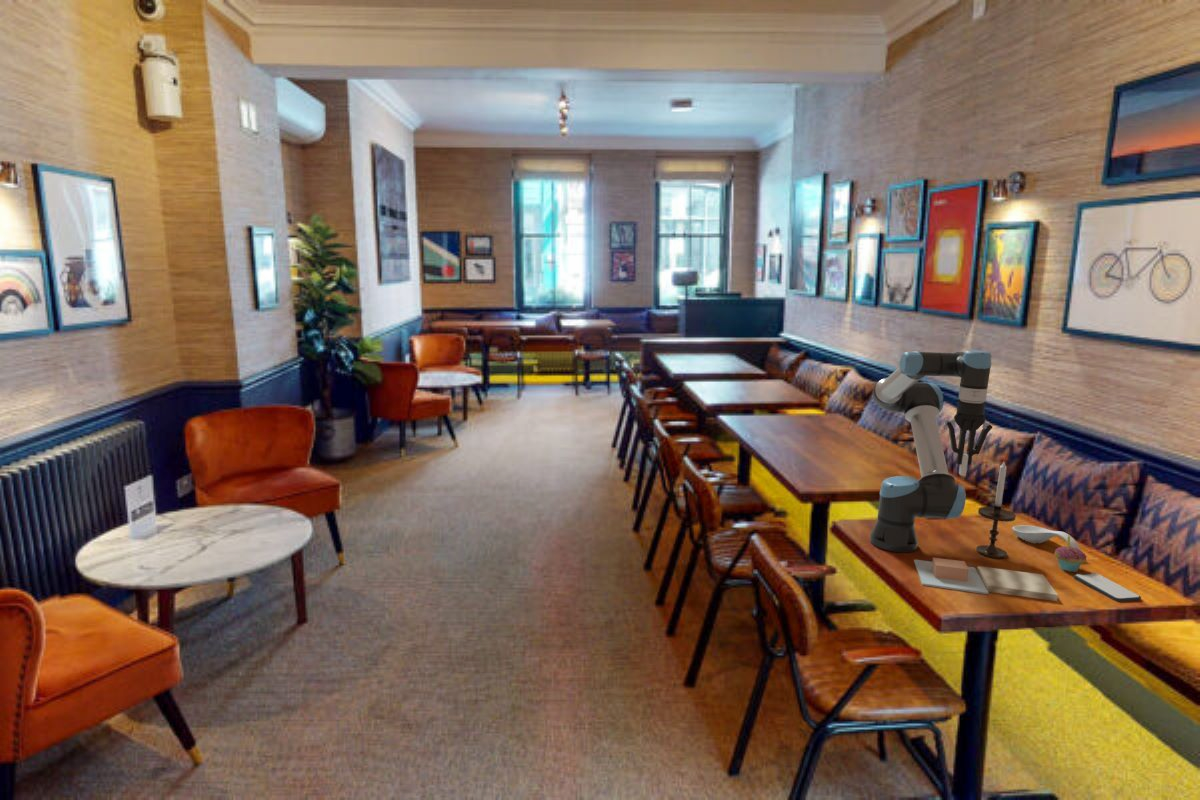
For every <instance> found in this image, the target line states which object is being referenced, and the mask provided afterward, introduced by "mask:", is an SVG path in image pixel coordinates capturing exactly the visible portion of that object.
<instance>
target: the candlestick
mask: <svg viewBox="0 0 1200 800" xmlns="http://www.w3.org/2000/svg"><path fill="white" fill-rule="evenodd" d="M1008 454H1009V453H1008V452H1007V453H1006V454H1005V455H1004V458H1003V460H1002V463H1001V465H1000V466H999V473H998V480H997V486H996V492H995V493H996V494H995V500H994V502H991V504H990V505H991V506H992V507H991V506H982V507H979V508H978V510H977V513H978V515H979V516H981V517H983V518H985V519H988V520H993V522H992V528H991V529H990V530H989V531H988V533H989V534H990V537H989V538H988V540H990V542H989V545H987V544H985V545H983V544H982V545H978V546H976V548H975V550H976V553H978V554H979V555H980V556H984V557H986V558H990V559H996V560H1003V559H1006V558H1007V555H1008V552H1007V551H1006V550H1004V549H1003V548H1001V547H997V546H996V542H997V541H998V538H997V536H998V535H999V534H1000V531H998V524H999V522H1006V523H1008V522H1013V521H1015V520H1016V517H1017V515H1016V514H1015V512H1012V511H1010V510H1007V509H1004V508H1006V506H1005V505H1004V504H1003V497H1004V496H1003V495H1004V489H1005V482H1006V474H1007V469H1008V468H1007V465H1006V462H1007V461H1006V460H1007V459H1008Z"/></svg>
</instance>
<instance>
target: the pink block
mask: <svg viewBox="0 0 1200 800" xmlns="http://www.w3.org/2000/svg"><path fill="white" fill-rule="evenodd" d="M931 562H932V572H933V574H934V577H936V578H943V579H951V580H958V581H966V582H967V580H968V572H969V569H968V567H969V566H968V565H967V563H966V562H965V560H957V559H956V560H955V559H949V558H941V557H935V556H934V557H932V560H931ZM967 566H968V567H967Z"/></svg>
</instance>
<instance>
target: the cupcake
mask: <svg viewBox="0 0 1200 800" xmlns="http://www.w3.org/2000/svg"><path fill="white" fill-rule="evenodd" d="M1067 534H1068V542H1067V543H1066V544H1067V546H1065V545H1063V546H1060V547H1057V548H1056V549H1054V556H1055V558H1057V562H1058V565H1059V566H1058V567H1059V568H1060V569H1061V570H1064V571H1066V572H1078V570H1079V569H1080V567H1081V566H1082V565H1083V564H1084V563H1086V562H1087V555H1086V553H1084V552H1083V551H1082V550H1081V549H1080V550H1079V549H1077V548H1075V547H1071V546H1070V536H1071V535H1070V534H1069V533H1067ZM1069 535H1070V536H1069Z"/></svg>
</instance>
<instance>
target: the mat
mask: <svg viewBox="0 0 1200 800" xmlns="http://www.w3.org/2000/svg"><path fill="white" fill-rule="evenodd" d="M913 563H914V565H915V568H916V571H917V574H918V578H919V580H920V582H921V586H927V587H934V588H941V589H947V590H954V591H961V592H967V593H974V594H975V593H976V594H982V595H989V592H988V591H987V589H986V587H985V585H984V583H983V582H982V580H981V578H980V576H979V574H978V572H977V569H976V567H974V566H968V565H967V567H968V569H969V572H968V580H967V582H966V581H958V580H951V579H943V578H936V577H934V574H933V572H932V561H928V560H921V559H913Z"/></svg>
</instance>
